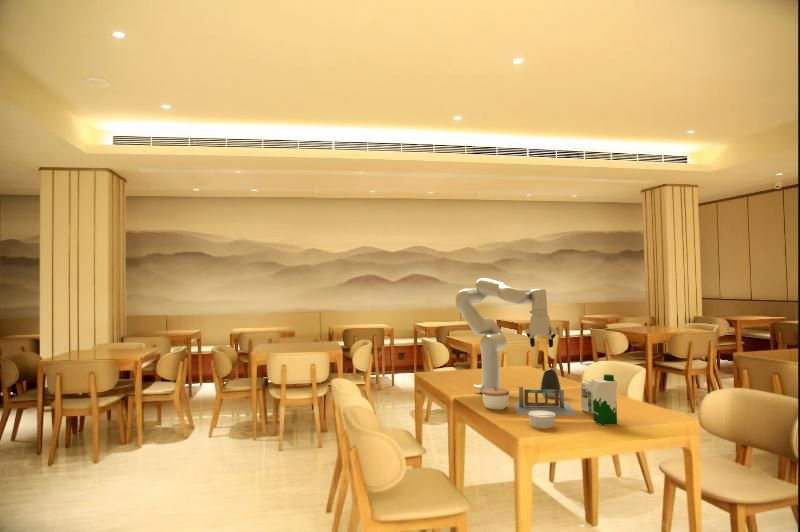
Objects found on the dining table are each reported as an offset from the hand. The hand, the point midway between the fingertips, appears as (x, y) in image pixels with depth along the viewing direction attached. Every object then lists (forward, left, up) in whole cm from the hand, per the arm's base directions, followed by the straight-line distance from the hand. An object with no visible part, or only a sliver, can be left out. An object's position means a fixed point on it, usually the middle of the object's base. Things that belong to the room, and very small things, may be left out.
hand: (541, 346), depth 266 cm
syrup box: (+18, -26, -27) cm, 41 cm away
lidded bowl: (-24, -21, -27) cm, 42 cm away
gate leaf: (-3, -19, -25) cm, 32 cm away
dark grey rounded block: (+5, +6, -27) cm, 28 cm away
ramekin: (-6, -47, -27) cm, 55 cm away
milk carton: (+21, -40, -27) cm, 52 cm away
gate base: (-2, -22, -27) cm, 35 cm away
